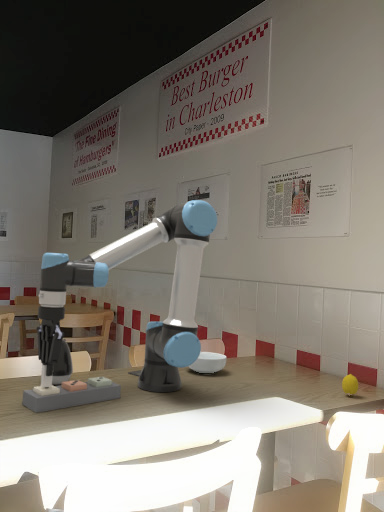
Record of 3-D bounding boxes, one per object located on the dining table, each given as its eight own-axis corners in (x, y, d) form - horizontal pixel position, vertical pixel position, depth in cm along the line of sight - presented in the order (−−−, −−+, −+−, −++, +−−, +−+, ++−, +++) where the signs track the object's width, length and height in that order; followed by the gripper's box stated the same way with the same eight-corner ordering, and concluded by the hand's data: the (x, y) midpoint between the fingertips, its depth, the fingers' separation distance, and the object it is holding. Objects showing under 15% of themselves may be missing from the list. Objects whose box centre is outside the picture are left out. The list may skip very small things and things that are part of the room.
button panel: (104, 391, 159) (105, 379, 159) (120, 397, 153) (120, 385, 153) (22, 404, 140) (23, 390, 140) (36, 412, 134) (37, 398, 134)
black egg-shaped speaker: (76, 380, 171) (78, 337, 171) (65, 387, 161) (68, 342, 161) (48, 378, 172) (51, 335, 172) (36, 385, 162) (39, 339, 162)
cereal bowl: (228, 370, 203) (229, 353, 203) (221, 379, 187) (223, 360, 187) (189, 366, 207) (190, 349, 207) (179, 374, 190) (180, 356, 191)
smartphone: (167, 370, 193) (139, 375, 182) (167, 372, 193) (139, 377, 182) (154, 367, 198) (126, 371, 187) (154, 369, 198) (126, 374, 187)
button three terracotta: (77, 388, 151) (77, 379, 151) (86, 392, 146) (87, 383, 147) (61, 391, 147) (61, 381, 147) (70, 395, 143) (70, 385, 143)
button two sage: (102, 384, 157) (102, 375, 157) (111, 388, 153) (112, 379, 153) (87, 387, 153) (87, 377, 153) (96, 391, 149) (97, 381, 149)
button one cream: (50, 393, 144) (51, 383, 144) (59, 398, 140) (59, 388, 140) (32, 396, 141) (33, 386, 141) (41, 401, 137) (42, 390, 137)
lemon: (358, 396, 173) (359, 373, 173) (356, 399, 168) (357, 376, 168) (342, 393, 175) (343, 371, 175) (340, 397, 170) (341, 374, 170)
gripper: (29, 303, 143) (24, 382, 143) (50, 308, 134) (44, 393, 133) (53, 303, 148) (47, 380, 148) (74, 307, 139) (68, 390, 138)
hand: (46, 386), depth 140 cm, fingers closed
